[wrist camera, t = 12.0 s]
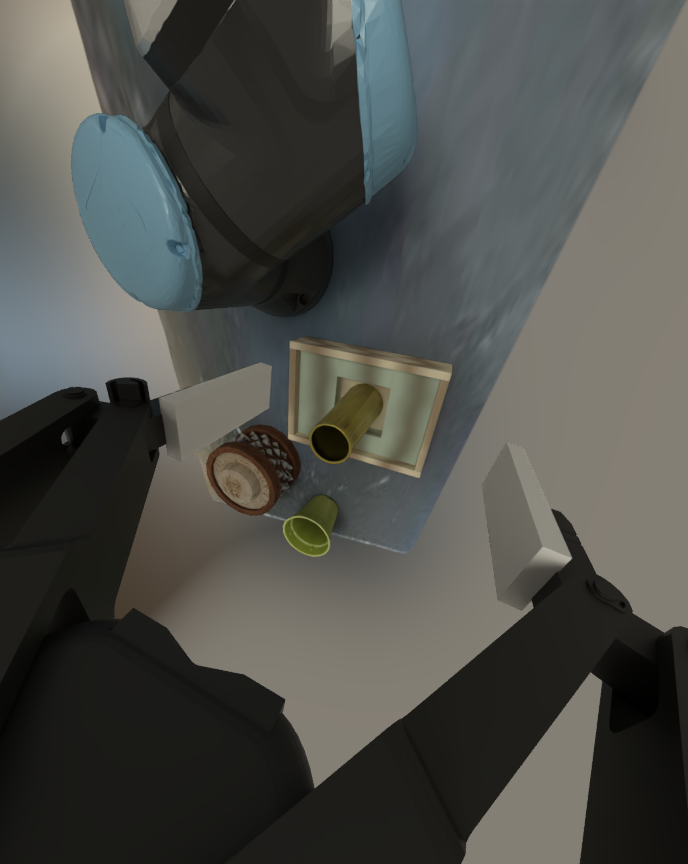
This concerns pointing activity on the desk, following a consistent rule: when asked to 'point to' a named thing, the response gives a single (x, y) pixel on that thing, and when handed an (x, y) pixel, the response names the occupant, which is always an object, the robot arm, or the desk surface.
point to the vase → (346, 424)
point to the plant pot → (312, 526)
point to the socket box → (396, 382)
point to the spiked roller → (253, 469)
